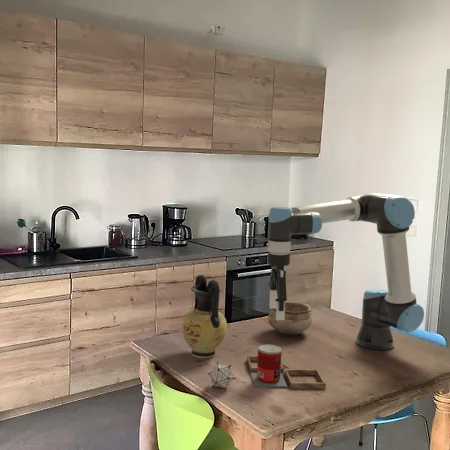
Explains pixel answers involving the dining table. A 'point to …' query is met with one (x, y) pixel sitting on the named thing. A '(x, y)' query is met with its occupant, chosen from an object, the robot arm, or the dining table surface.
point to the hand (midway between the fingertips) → (276, 313)
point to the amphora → (204, 320)
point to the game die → (221, 376)
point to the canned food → (269, 363)
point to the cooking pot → (292, 318)
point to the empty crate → (304, 384)
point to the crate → (255, 358)
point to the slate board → (259, 384)
